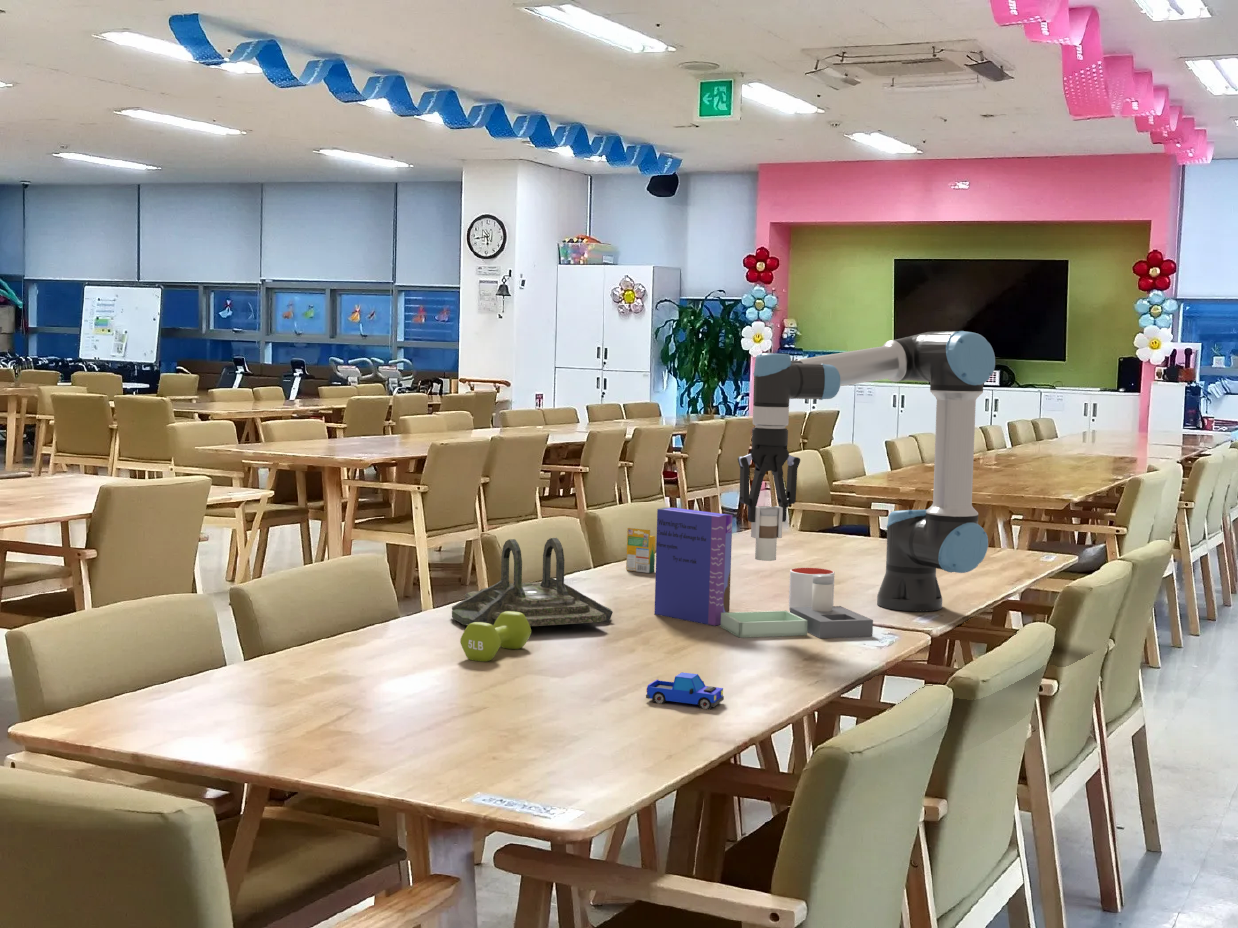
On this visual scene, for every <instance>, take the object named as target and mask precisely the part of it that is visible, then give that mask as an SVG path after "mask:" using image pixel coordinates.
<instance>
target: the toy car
mask: <svg viewBox="0 0 1238 928" xmlns="http://www.w3.org/2000/svg"><path fill="white" fill-rule="evenodd" d="M724 698H725V696H724V688H723V687H717V686H710V685H709V686H707V685H706V684H705V681H704V680H703V679H702V678H701V676H700V675H699V674H698V673H691V672H680V673H678V674H676V675H675V677H674V680H673V681H667V680H659V679H655V680H654V681H652V682H651V683H649V684H648V685H647V686H646V695H645V699H648V700H649V699H650V700H652V702H653V704H661V705H664V704H665V703H666V702H674V703H675V702H676V703H682V704H690V705H691V704H692V705H698V708H699V709H701V710H703V709H706V710H711V708H712V707H713V708H714V707H716V706H718V705H719V704H720V703H721V702H723V701H724Z"/></svg>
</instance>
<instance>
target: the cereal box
mask: <svg viewBox="0 0 1238 928" xmlns="http://www.w3.org/2000/svg"><path fill="white" fill-rule="evenodd" d="M656 512H657V513H656V515H657V516H656V541H655V583H654V585H655V586H654V615H655V616H659V617H660V616H661V617H663V618H664V617H665V618H669V619H675V620H680V621H684V622H685V621H686V622H690V623H696V624H700V625H704V626H705V625H706V626H709V627H719V626H721V613H726V612H730V609H731V608H730V603H731V578H732V577H731V576H732V575H731V573H732V571H731V570H732V569H731V568H732V544H733V538H732V537H733V514H727V513H721V512H720V513H718V512H712V511H711V512H710V511H702V510H694V509H686V508H680V507H672V506H671V507H670V506H667V507H664V506H663V507H660V508H657V510H656Z"/></svg>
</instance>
